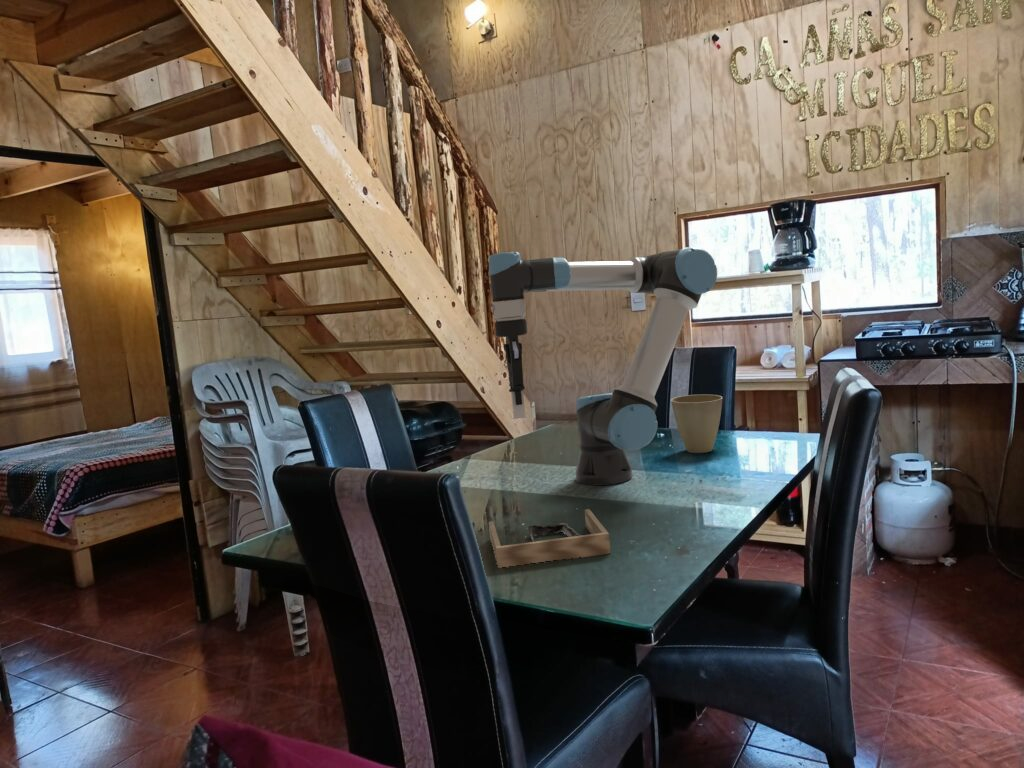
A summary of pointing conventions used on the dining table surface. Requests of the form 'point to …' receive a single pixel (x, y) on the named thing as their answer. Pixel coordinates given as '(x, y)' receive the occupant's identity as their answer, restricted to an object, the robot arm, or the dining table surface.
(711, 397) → the plant pot
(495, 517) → the dining table surface
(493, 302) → the robot arm
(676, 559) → the dining table surface
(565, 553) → the box
